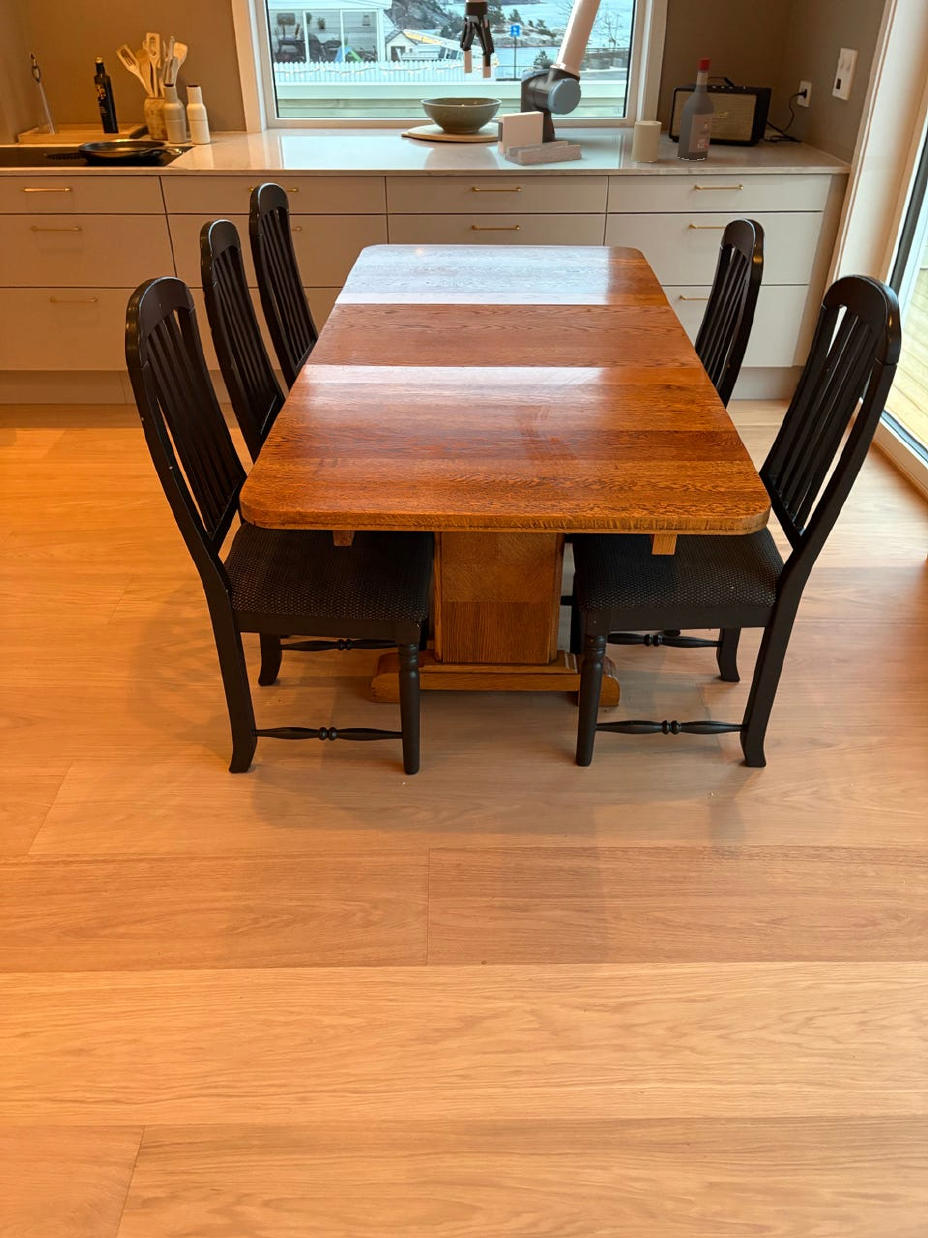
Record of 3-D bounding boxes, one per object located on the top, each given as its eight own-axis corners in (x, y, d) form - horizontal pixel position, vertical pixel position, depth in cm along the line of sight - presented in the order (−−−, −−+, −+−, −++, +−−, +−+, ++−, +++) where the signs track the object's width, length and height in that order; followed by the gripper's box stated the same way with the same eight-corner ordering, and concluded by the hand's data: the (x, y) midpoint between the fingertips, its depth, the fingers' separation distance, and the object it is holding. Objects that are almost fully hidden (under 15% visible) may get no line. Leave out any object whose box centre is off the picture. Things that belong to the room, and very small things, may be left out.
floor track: (563, 152, 336) (563, 140, 334) (581, 158, 328) (582, 145, 325) (504, 158, 327) (504, 146, 325) (522, 165, 319) (522, 152, 316)
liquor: (710, 159, 326) (725, 59, 308) (690, 162, 322) (704, 60, 305) (692, 154, 333) (705, 56, 315) (673, 157, 329) (685, 58, 311)
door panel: (536, 148, 343) (537, 111, 336) (541, 150, 340) (543, 112, 333) (496, 152, 337) (497, 114, 330) (501, 154, 334) (502, 116, 327)
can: (651, 163, 321) (655, 124, 314) (626, 160, 325) (630, 121, 318) (661, 158, 327) (666, 120, 320) (637, 156, 331) (641, 117, 324)
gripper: (448, -2, 314) (450, 71, 327) (483, 3, 296) (484, 80, 309) (468, -3, 316) (470, 69, 329) (504, 1, 298) (504, 78, 311)
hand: (477, 75), depth 319 cm, fingers open, 13 cm apart
